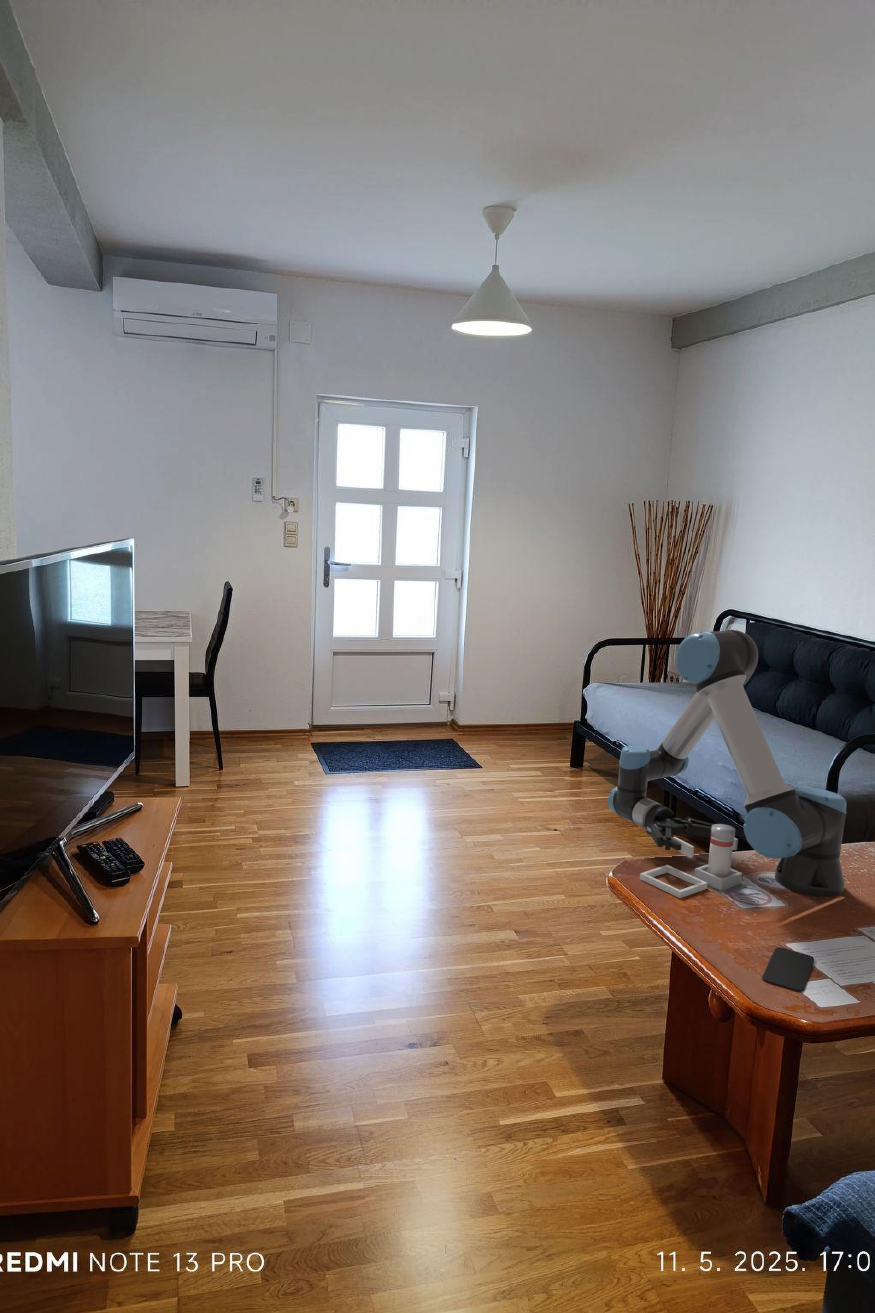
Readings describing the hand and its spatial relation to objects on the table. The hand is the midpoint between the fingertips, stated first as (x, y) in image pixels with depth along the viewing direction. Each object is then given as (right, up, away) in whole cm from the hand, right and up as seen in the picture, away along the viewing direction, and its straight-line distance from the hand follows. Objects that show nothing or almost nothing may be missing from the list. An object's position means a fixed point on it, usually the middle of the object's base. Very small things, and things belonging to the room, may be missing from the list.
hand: (714, 848), depth 211 cm
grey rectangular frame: (-11, -8, -3) cm, 14 cm away
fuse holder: (+1, -8, 0) cm, 8 cm away
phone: (+3, -16, -38) cm, 41 cm away
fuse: (+1, -8, 0) cm, 8 cm away
